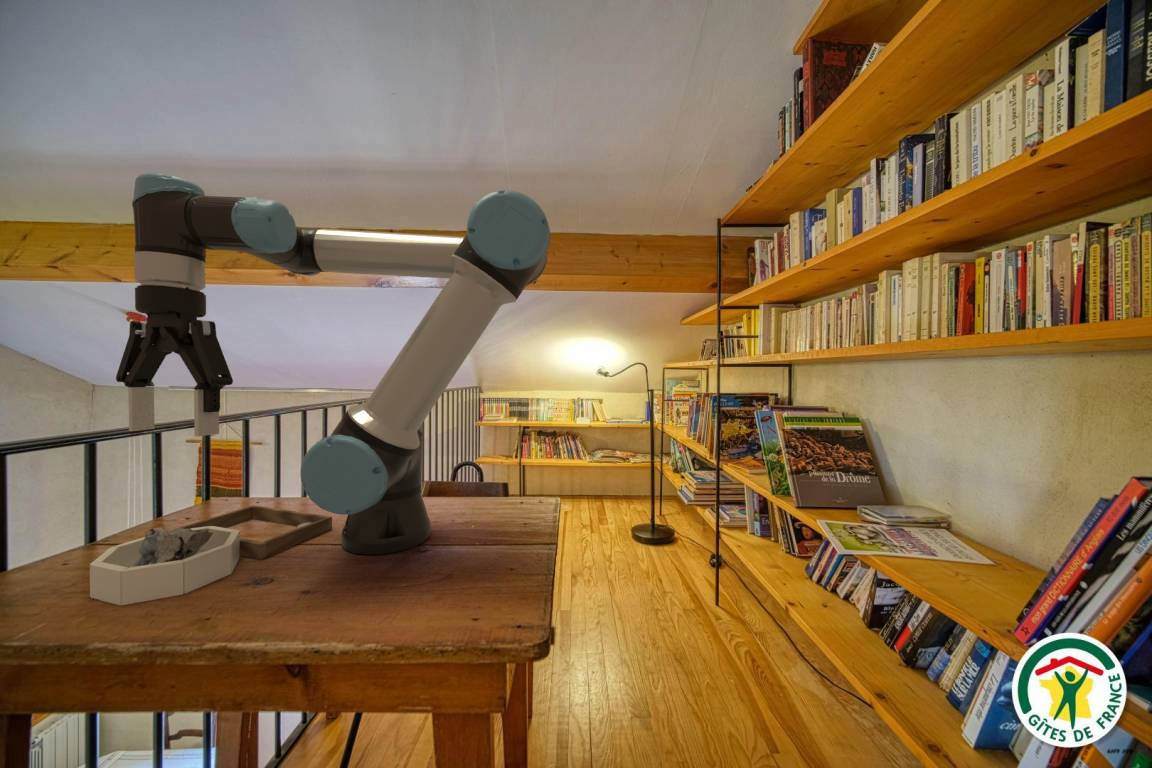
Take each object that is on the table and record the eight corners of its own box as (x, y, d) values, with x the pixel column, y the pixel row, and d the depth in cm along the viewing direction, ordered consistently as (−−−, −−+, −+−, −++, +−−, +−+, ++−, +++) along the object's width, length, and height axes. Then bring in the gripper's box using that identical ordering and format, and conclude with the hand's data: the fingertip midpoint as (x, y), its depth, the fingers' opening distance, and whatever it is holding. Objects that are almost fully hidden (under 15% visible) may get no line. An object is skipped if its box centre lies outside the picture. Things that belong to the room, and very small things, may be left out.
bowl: (260, 561, 68) (260, 533, 68) (144, 611, 54) (143, 576, 54) (193, 548, 72) (193, 522, 72) (68, 592, 58) (68, 559, 58)
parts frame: (331, 529, 82) (332, 516, 82) (261, 559, 69) (261, 544, 69) (253, 517, 88) (253, 505, 88) (173, 543, 74) (173, 529, 74)
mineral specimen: (144, 610, 61) (218, 587, 63) (91, 596, 55) (175, 571, 56) (165, 545, 67) (232, 526, 69) (119, 526, 61) (194, 505, 63)
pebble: (319, 531, 82) (319, 523, 82) (306, 537, 79) (306, 528, 79) (306, 529, 82) (306, 521, 82) (293, 535, 79) (293, 527, 79)
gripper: (262, 290, 62) (262, 433, 63) (145, 295, 69) (146, 425, 69) (205, 279, 55) (206, 441, 56) (80, 286, 62) (83, 431, 62)
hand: (173, 432), depth 62 cm, fingers open, 13 cm apart
